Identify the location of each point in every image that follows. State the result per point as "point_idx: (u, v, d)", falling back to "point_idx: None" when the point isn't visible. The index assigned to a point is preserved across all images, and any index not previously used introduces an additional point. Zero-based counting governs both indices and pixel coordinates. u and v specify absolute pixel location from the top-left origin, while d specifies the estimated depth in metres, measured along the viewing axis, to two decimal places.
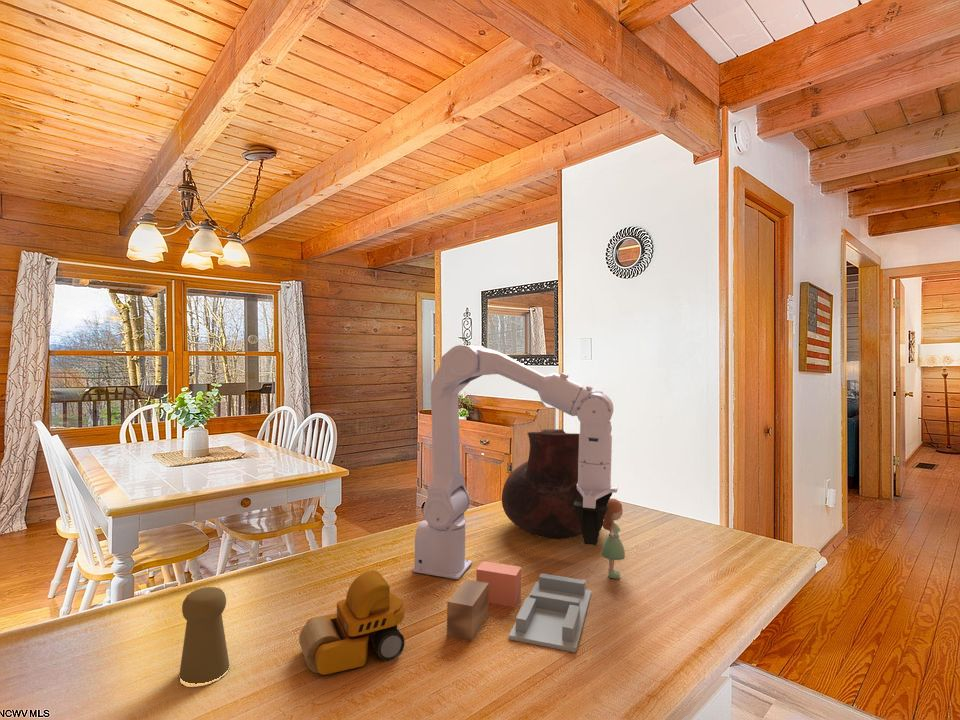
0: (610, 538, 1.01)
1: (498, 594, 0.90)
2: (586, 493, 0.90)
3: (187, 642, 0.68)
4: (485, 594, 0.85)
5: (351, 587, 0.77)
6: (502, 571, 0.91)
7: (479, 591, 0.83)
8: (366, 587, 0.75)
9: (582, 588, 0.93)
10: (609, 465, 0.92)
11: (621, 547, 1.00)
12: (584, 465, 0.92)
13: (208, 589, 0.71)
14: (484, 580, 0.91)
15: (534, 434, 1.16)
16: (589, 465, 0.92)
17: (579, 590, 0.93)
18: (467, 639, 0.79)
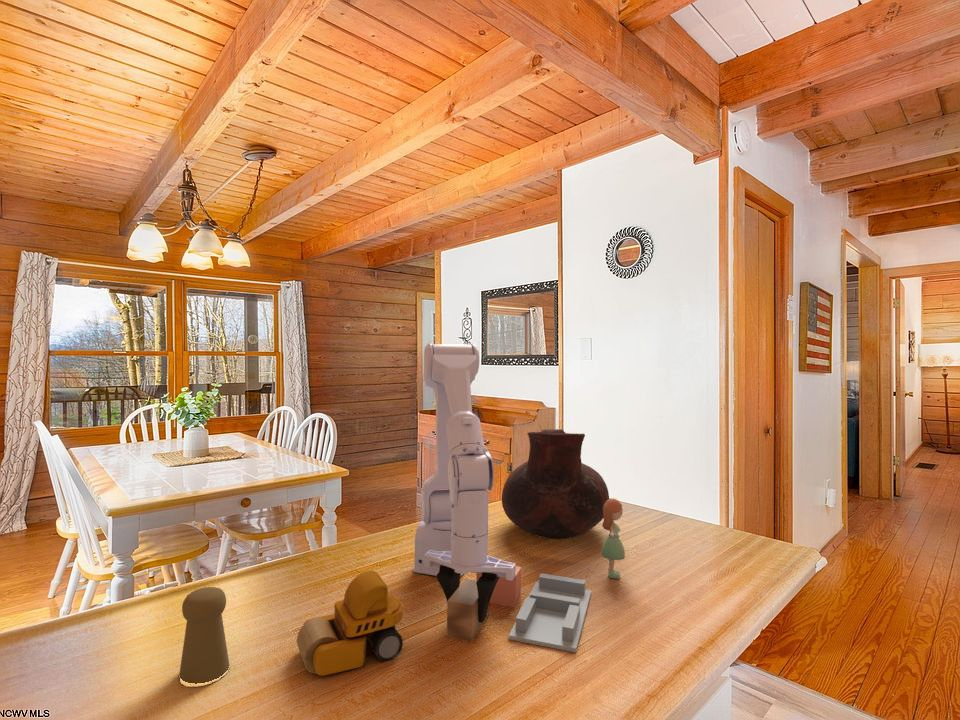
0: (610, 538, 1.01)
1: (498, 594, 0.90)
2: (442, 554, 0.85)
3: (187, 642, 0.68)
4: None
5: (349, 588, 0.77)
6: None
7: None
8: (364, 587, 0.75)
9: (582, 588, 0.93)
10: (457, 538, 0.81)
11: (621, 547, 1.00)
12: None
13: (208, 589, 0.71)
14: None
15: (534, 434, 1.16)
16: None
17: (579, 590, 0.93)
18: (467, 638, 0.79)
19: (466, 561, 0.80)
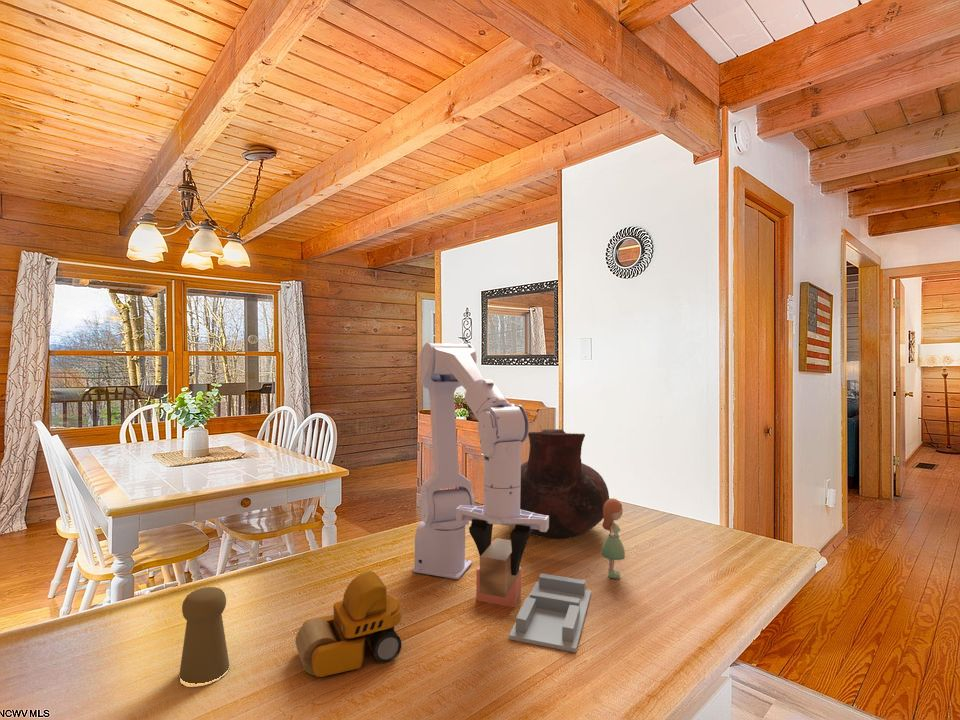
0: (610, 538, 1.01)
1: None
2: None
3: (187, 642, 0.68)
4: None
5: (348, 588, 0.76)
6: None
7: (511, 548, 0.82)
8: (363, 588, 0.74)
9: (582, 588, 0.93)
10: (490, 490, 0.80)
11: (621, 547, 1.00)
12: None
13: (208, 589, 0.71)
14: None
15: (534, 434, 1.16)
16: None
17: (579, 590, 0.93)
18: (500, 594, 0.78)
19: (499, 512, 0.80)
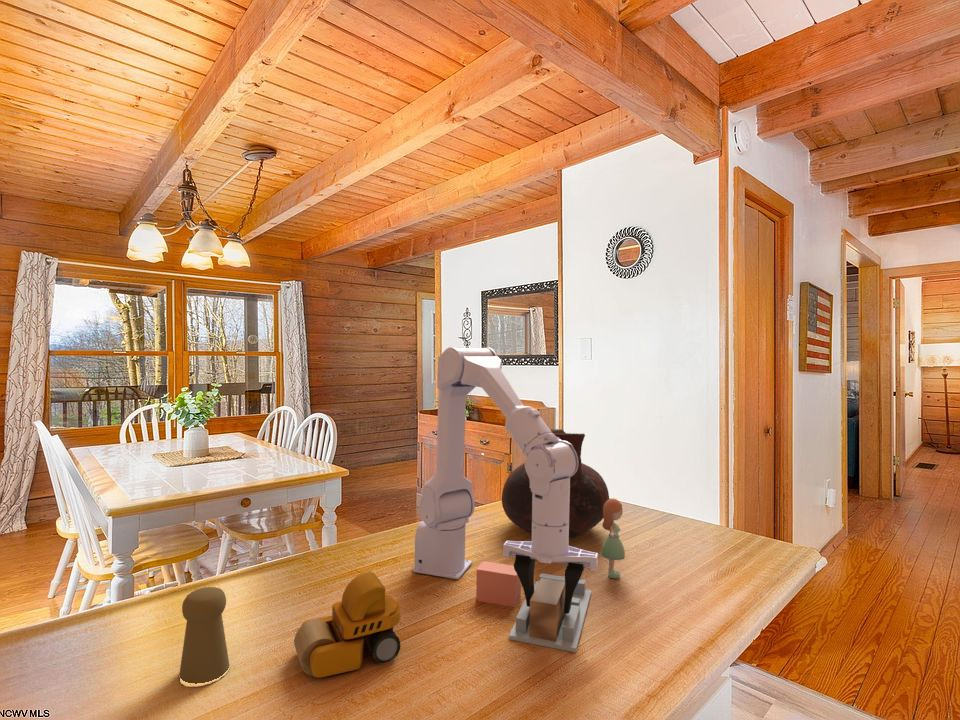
0: (610, 538, 1.01)
1: (498, 594, 0.90)
2: (521, 544, 0.85)
3: (187, 642, 0.68)
4: (563, 593, 0.84)
5: (347, 589, 0.76)
6: (502, 571, 0.91)
7: (559, 590, 0.83)
8: (362, 589, 0.74)
9: (582, 588, 0.93)
10: (540, 527, 0.80)
11: (621, 547, 1.00)
12: None
13: (208, 589, 0.71)
14: (484, 580, 0.91)
15: None
16: None
17: (579, 590, 0.93)
18: (551, 638, 0.78)
19: (550, 550, 0.79)
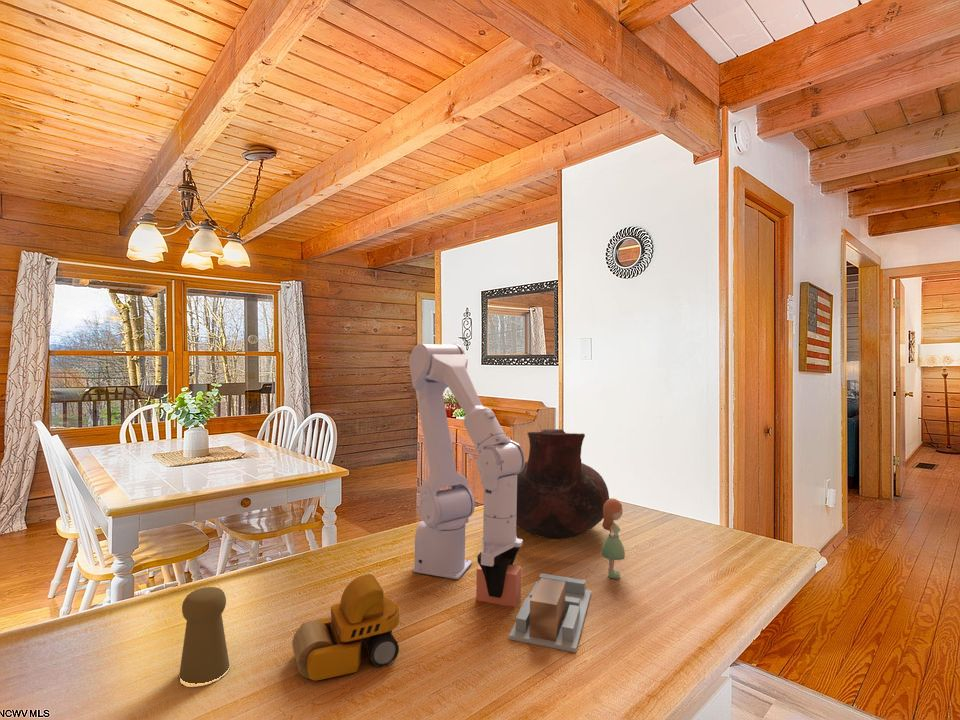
0: (610, 538, 1.01)
1: None
2: (487, 549, 0.87)
3: (187, 642, 0.68)
4: (563, 593, 0.84)
5: (345, 591, 0.76)
6: None
7: (559, 590, 0.83)
8: (360, 591, 0.73)
9: (582, 588, 0.93)
10: (513, 518, 0.90)
11: (621, 547, 1.00)
12: (487, 518, 0.90)
13: (208, 589, 0.71)
14: (484, 579, 0.91)
15: (534, 434, 1.16)
16: (492, 519, 0.89)
17: (579, 590, 0.93)
18: (551, 638, 0.78)
19: None
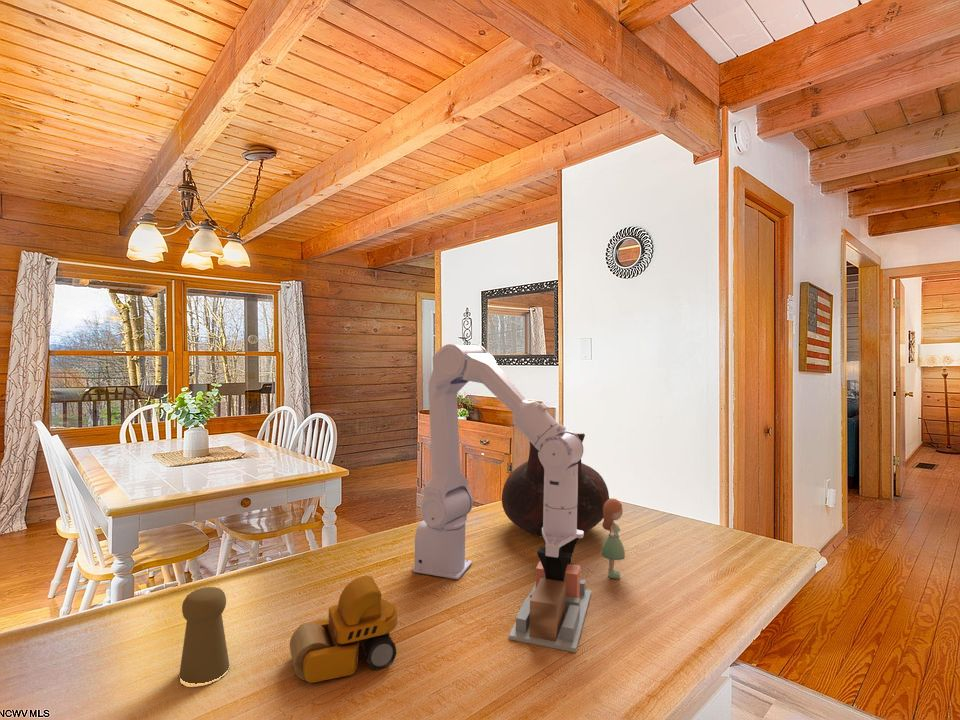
0: (610, 538, 1.01)
1: None
2: (550, 540, 0.86)
3: (187, 642, 0.68)
4: (563, 593, 0.84)
5: (343, 593, 0.75)
6: None
7: (559, 590, 0.83)
8: (357, 593, 0.73)
9: (582, 588, 0.93)
10: (575, 509, 0.89)
11: (621, 547, 1.00)
12: (549, 509, 0.89)
13: (208, 589, 0.71)
14: None
15: None
16: (554, 510, 0.88)
17: None
18: (551, 638, 0.78)
19: None
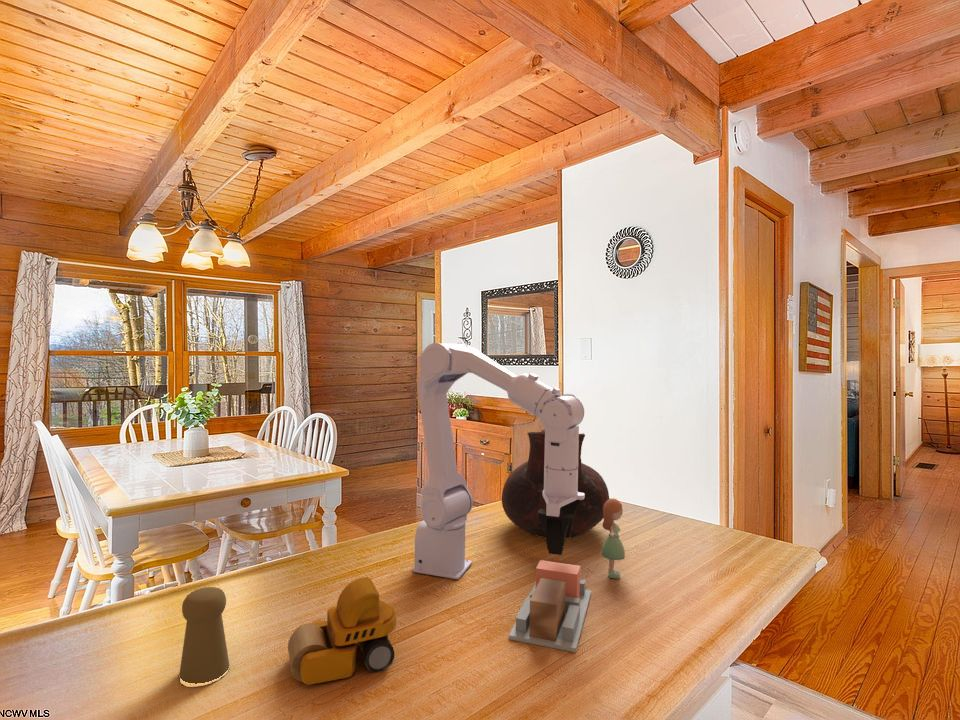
0: (610, 538, 1.01)
1: None
2: (551, 500, 0.86)
3: (187, 642, 0.68)
4: (563, 593, 0.84)
5: (341, 594, 0.75)
6: (562, 570, 0.90)
7: (559, 590, 0.83)
8: (355, 594, 0.72)
9: (582, 588, 0.93)
10: (575, 471, 0.89)
11: (621, 547, 1.00)
12: (549, 471, 0.88)
13: (208, 589, 0.71)
14: None
15: (534, 434, 1.16)
16: (554, 471, 0.88)
17: None
18: (551, 638, 0.78)
19: (577, 488, 0.90)
